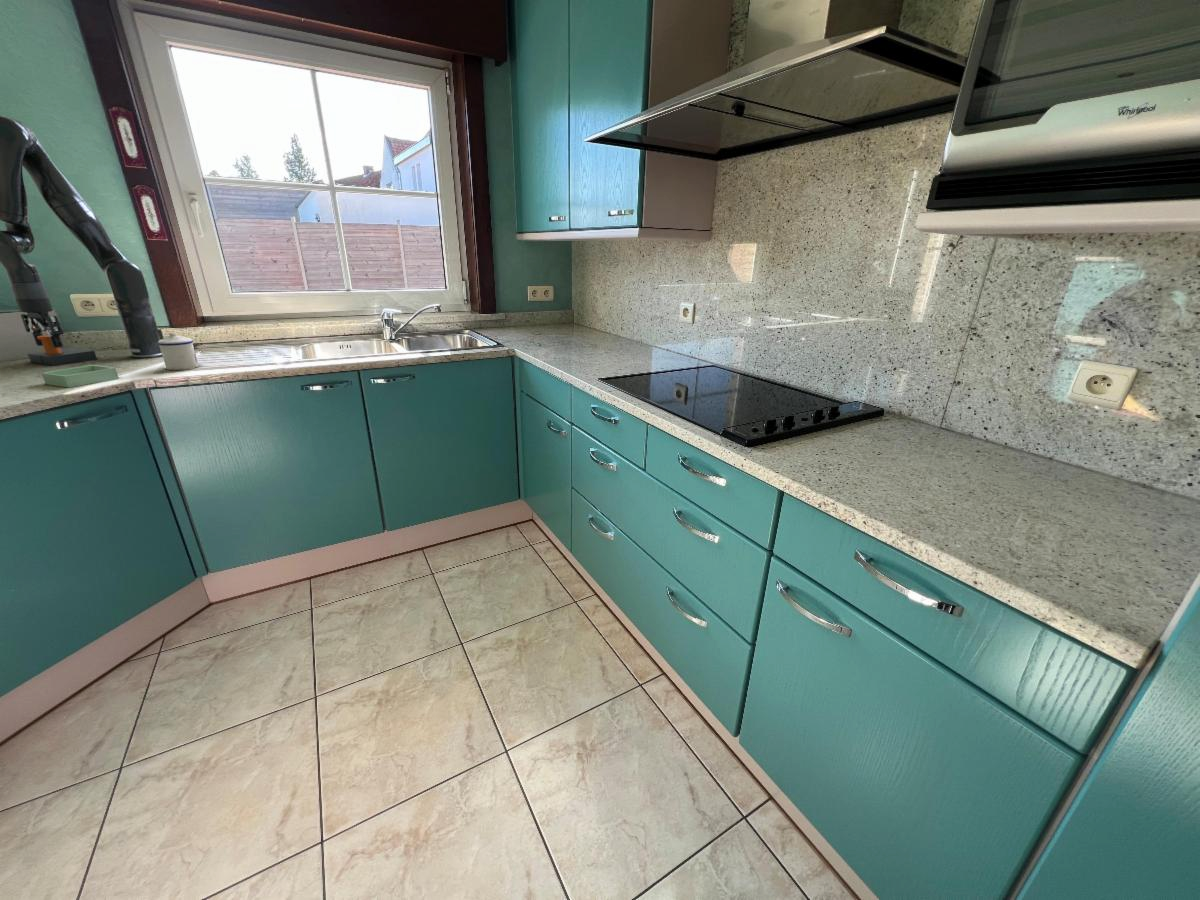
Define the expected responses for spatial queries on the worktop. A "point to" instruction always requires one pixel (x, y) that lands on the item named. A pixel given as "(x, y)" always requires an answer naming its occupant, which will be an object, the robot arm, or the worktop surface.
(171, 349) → the teacup with lid
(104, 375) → the tray
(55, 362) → the drain plate
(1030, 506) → the worktop surface
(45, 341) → the plug
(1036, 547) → the worktop surface
